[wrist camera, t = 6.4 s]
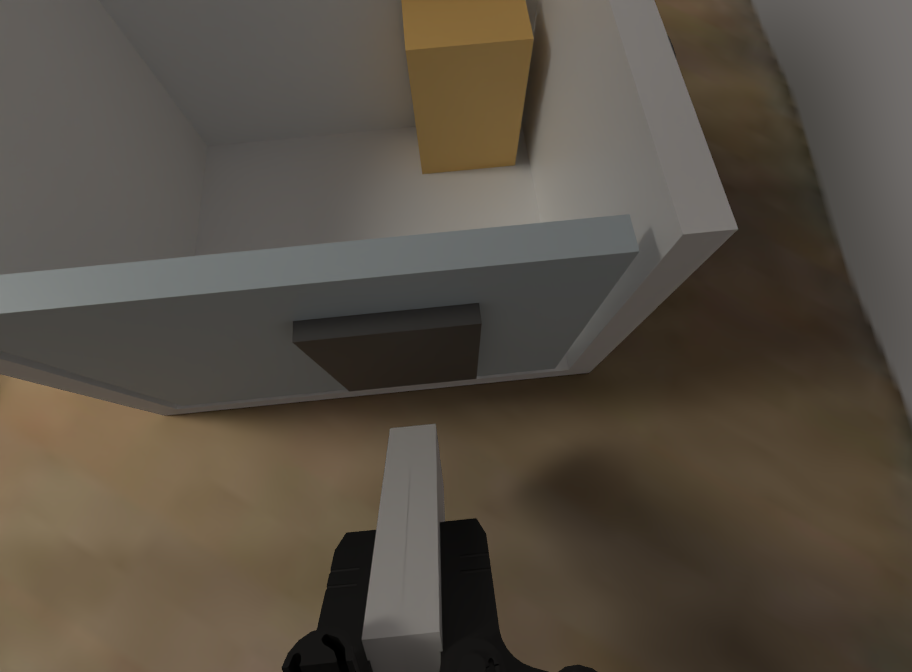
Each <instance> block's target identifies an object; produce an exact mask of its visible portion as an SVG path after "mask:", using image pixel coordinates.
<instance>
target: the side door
mask: <svg viewBox="0 0 912 672" xmlns="http://www.w3.org/2000/svg"><path fill="white" fill-rule="evenodd" d="M638 253H639V247H638V244H637V240H636V236H635V233H634V229H633V225H632V222H631V218H630V214H626V215H615V216H605V217H595V218H584V219H574V220H564V221H553V222H543V223H532V224H522V225H512V226H501V227H491V228H480V229H470V230H460V231H449V232H439V233H429V234H418V235H408V236H397V237H387V238H377V239H366V240H356V241H345V242H335V243H325V244H314V245H304V246H294V247H283V248H273V249H262V250H252V251H242V252H231V253H221V254H210V255H200V256H190V257H179V258H169V259H159V260H148V261H138V262H127V263H117V264H107V265H96V266H86V267H76V268H65V269H55V270H44V271H34V272H24V273H13V274H3V275H0V351H3V352H6V353H10V354H13V355H16V356H19V357H23V358H26V359H29V360H33V361H36V362H39V363H42V364H46V365H49V366H52V367H56V368H59V369H62V370H66V371H69V372H72V373H75V374H79V375H82V376H85V377H89V378H92V379H95V380H98V381H102V382H105V383H108V384H112V385H115V386H118V387H122V388H125V389H128V390H131V391H135V392H138V393H141V394H145V395H148V396H151V397H154V398H158V399H161V400H164V401H168V402H171V403H174V404H178V405H181V406H188V405H197V404H207V403H217V402H227V401H237V400H247V399H257V398H267V397H277V396H287V395H297V394H307V393H317V392H327V391H337V390H348V391H349V392H351V391H361V390H371V389H381V388H391V387H401V386H411V385H420V384H430V383H440V382H450V381H460V380H470V379H477V376H486V375H496V374H506V373H516V372H526V371H536V370H545V369H555V368H556V367H557V365H558V364H559V362H560V361H561V360H562V358H563V357H564V355H565V354H566V353H567V351H568V350H569V349H570V347H571V346H572V344H573V343H574V342H575V340H576V339H577V337H578V336H579V335H580V333H581V332H582V331H583V329H584V328H585V326H586V325H587V324H588V322H589V321H590V319H591V318H592V317H593V315H594V314H595V312H596V311H597V310H598V308H599V307H600V306H601V304H602V303H603V301H604V300H605V299H606V297H607V296H608V294H609V293H610V292H611V290H612V289H613V288H614V286H615V285H616V283H617V282H618V281H619V279H620V278H621V276H622V275H623V274H624V272H625V271H626V270H627V268H628V267H629V265H630V264H631V263H632V261H633V260H634V258H635V257H636V256H637V254H638Z"/></svg>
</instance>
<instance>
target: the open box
mask: <svg viewBox="0 0 912 672" xmlns="http://www.w3.org/2000/svg"><path fill="white" fill-rule="evenodd" d="M626 214H630V218H631V222H632V225H633V229H634V233H635V236H636V240H637V244H638V247H639V253H638V254H637V256H636V257H635V258H634V260H633V261H632V263H631V264H630V265H629V267H628V268H627V270H626V271H625V272H624V274H623V275H622V276H621V278H620V279H619V281H618V282H617V283H616V285H615V286H614V288H613V289H612V290H611V292H610V293H609V294H608V296H607V297H606V299H605V300H604V301H603V303H602V304H601V306H600V307H599V308H598V310H597V311H596V312H595V314H594V315H593V317H592V318H591V319H590V321H589V322H588V324H587V325H586V326H585V328H584V329H583V331H582V332H581V333H580V335H579V336H578V337H577V339H576V340H575V342H574V343H573V344H572V346H571V347H570V349H569V350H568V351H567V353H566V354H565V355H564V357H563V358H562V360H561V361H560V362H559V364H558V365H557V367H556V368H555V369H545V370H536V371H526V372H516V373H506V374H496V375H486V376H477V379H470V380H460V381H450V382H440V383H430V384H420V385H411V386H401V387H391V388H381V389H371V390H361V391H351V392H349V391H348V390H337V391H327V392H317V393H307V394H297V395H287V396H277V397H267V398H257V399H247V400H237V401H227V402H217V403H207V404H197V405H188V406H181V405H178V404H174V403H171V402H168V401H164V400H161V399H158V398H154V397H151V396H148V395H145V394H141V393H138V392H135V391H131V390H128V389H125V388H122V387H118V386H115V385H112V384H108V383H105V382H102V381H98V380H95V379H92V378H89V377H85V376H82V375H79V374H75V373H72V372H69V371H66V370H62V369H59V368H56V367H52V366H49V365H46V364H42V363H39V362H36V361H33V360H29V359H26V358H23V357H19V356H16V355H13V354H10V353H6V352H3V351H0V374H2V375H6V376H10V377H14V378H18V379H22V380H26V381H30V382H34V383H37V384H41V385H45V386H49V387H53V388H57V389H61V390H65V391H69V392H73V393H77V394H81V395H85V396H89V397H93V398H97V399H101V400H105V401H109V402H112V403H116V404H120V405H124V406H128V407H132V408H136V409H140V410H144V411H148V412H152V413H156V414H160V415H164V416H166V415H175V414H185V413H195V412H205V411H215V410H225V409H235V408H245V407H255V406H265V405H275V404H285V403H295V402H304V401H314V400H324V399H334V398H344V397H354V396H364V395H374V394H384V393H394V392H404V391H414V390H423V389H433V388H443V387H453V386H463V385H473V384H483V383H493V382H503V381H513V380H523V379H533V378H543V377H552V376H562V375H572V374H582V373H590V372H591V371H592V370H593V369H594V368H595V367H596V366H597V365H598V364H599V363H600V362H601V361H602V360H603V359H604V358H605V357H606V356H607V355H608V354H609V353H610V352H612V351H613V350H614V349H615V348H616V347H617V346H618V345H619V344H620V343H621V342H622V341H623V340H624V339H625V338H626V337H627V336H628V335H629V334H630V333H631V332H632V331H633V330H634V329H635V328H636V327H637V326H638V325H639V324H641V323H642V322H643V321H644V320H645V319H646V318H647V317H648V316H649V315H650V314H651V313H652V312H653V311H654V310H655V309H656V308H657V307H658V306H659V305H660V304H661V303H662V302H663V301H664V300H665V299H666V298H667V297H668V296H670V295H671V294H672V293H673V292H674V291H675V290H676V289H677V288H678V287H679V286H680V285H681V284H682V283H683V282H684V281H685V280H686V279H687V278H688V277H689V276H690V275H691V274H692V273H693V272H694V271H695V270H696V269H697V268H699V267H700V266H701V265H702V264H703V263H704V262H705V261H706V260H707V259H708V258H709V257H710V256H711V255H712V254H713V253H714V252H715V251H716V250H717V249H718V248H719V247H720V246H721V245H722V244H723V243H724V242H725V241H726V240H728V239H729V238H730V237H731V236H732V235H733V234H734V233H735V232H736V231H737V230H738V227H737V224H736V221H735V219H734V216H733V213H732V211H731V208H730V205H729V202H728V200H727V197H726V194H725V191H724V189H723V186H722V183H721V181H720V178H719V175H718V172H717V170H716V167H715V164H714V162H713V159H712V156H711V153H710V151H709V148H708V145H707V142H706V140H705V137H704V134H703V132H702V129H701V126H700V123H699V121H698V118H697V115H696V112H695V110H694V107H693V104H692V102H691V99H690V96H689V93H688V91H687V88H686V85H685V82H684V80H683V77H682V74H681V72H680V69H679V66H678V63H677V61H676V56H675V52H674V49H673V45H672V43H671V41H670V39H669V37H668V35H667V33H666V31H665V28H664V25H663V22H662V20H661V17H660V14H659V12H658V9H657V6H656V3H655V1H654V0H0V275H3V274H13V273H24V272H34V271H44V270H55V269H65V268H76V267H86V266H96V265H107V264H117V263H127V262H138V261H148V260H159V259H169V258H179V257H190V256H200V255H210V254H221V253H231V252H242V251H252V250H262V249H273V248H283V247H294V246H304V245H314V244H325V243H335V242H345V241H356V240H366V239H377V238H387V237H397V236H408V235H418V234H429V233H439V232H449V231H460V230H470V229H480V228H491V227H501V226H512V225H522V224H532V223H543V222H553V221H564V220H574V219H584V218H595V217H605V216H615V215H626Z"/></svg>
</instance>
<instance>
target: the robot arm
mask: <svg viewBox="0 0 912 672" xmlns="http://www.w3.org/2000/svg"><path fill="white" fill-rule="evenodd" d="M282 670H283V672H547V671H544V670H540V669H537V668H533V667H530V666H528V665H526V664H523V663H522V662H520V661H519V660H518V659H516V658H515V657H514V656H513V655H512V654H511V653H510V652H509V651H508V649H507V648H506V646H505V644H504V642H503V640H502V638H501V634H500V630H499V624H498V617H497V610H496V602H495V595H494V588H493V581H492V573H491V566H490V559H489V552H488V544H487V537H486V533H485V531H484V530H483V528H482V527H481V525H480V524H479V522H478V520H477V519H476V518H475V519H466V520H456V521H446V522H445V511H444V486H443V478H442V470H441V462H440V454H439V446H438V438H437V430H436V424H429V425H419V426H409V427H398V428H390V433H389V440H388V448H387V455H386V462H385V470H384V477H383V485H382V492H381V499H380V507H379V514H378V522H377V529H376V530H369V531H359V532H349V533H346V534H345V536H344V537H343V539H342V540H341V542H340V543H339V545H338V546H337V548H336V549H335V552H334V556H333V561H332V565H331V573H330V574H329V579H328V583H327V590H326V592H325V596H324V601H323V605H322V609H321V614H320V618H319V623H318V627H317V630H316V631H312V632H310V633H309V634H307V635H306V636H304V637H303V638H302V639H300V640H299V641H298V642H297V643H296V644H295V645H294V647H293V648H292V649H291V650H290V651H289V653H288V655H287V657H286V659H285V661H284V664H283V666H282ZM559 672H597V671H595V670H594V669H593V668H589V667H585V666H582V665H573V666H567V667H564V668H563V669H562V670H560V671H559Z"/></svg>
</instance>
